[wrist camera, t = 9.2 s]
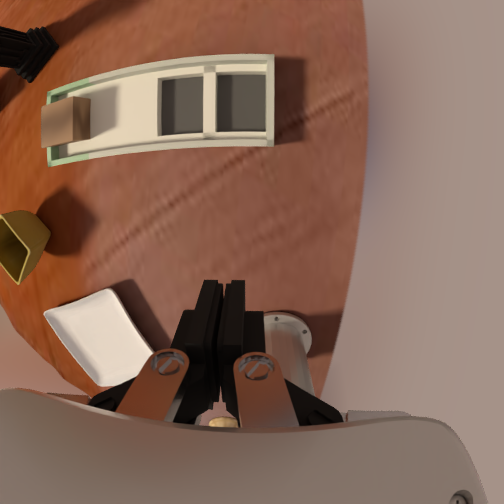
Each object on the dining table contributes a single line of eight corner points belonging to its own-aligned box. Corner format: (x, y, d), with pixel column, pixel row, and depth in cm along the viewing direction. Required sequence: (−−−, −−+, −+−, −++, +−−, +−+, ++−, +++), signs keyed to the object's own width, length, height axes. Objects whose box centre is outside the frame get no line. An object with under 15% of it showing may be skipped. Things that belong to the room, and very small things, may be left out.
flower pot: (33, 198, 36) (-1, 213, 28) (62, 230, 38) (30, 251, 30) (19, 233, 38) (-10, 251, 30) (46, 263, 41) (18, 286, 32)
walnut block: (90, 139, 31) (72, 140, 27) (59, 145, 31) (41, 148, 27) (90, 98, 29) (73, 96, 25) (59, 107, 29) (41, 106, 25)
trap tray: (271, 145, 34) (273, 146, 30) (63, 163, 34) (48, 167, 30) (271, 63, 30) (274, 54, 26) (62, 93, 30) (47, 92, 26)
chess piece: (18, 61, 25) (-59, 54, 7) (44, 27, 24) (-31, 6, 5) (31, 82, 28) (-55, 80, 9) (59, 46, 26) (-26, 25, 8)
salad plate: (103, 378, 52) (98, 388, 49) (49, 304, 45) (40, 313, 42) (177, 367, 50) (174, 379, 46) (118, 276, 42) (110, 286, 39)
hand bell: (233, 414, 55) (230, 473, 40) (248, 429, 58) (248, 484, 43) (202, 419, 56) (194, 475, 42) (219, 434, 59) (214, 486, 45)
